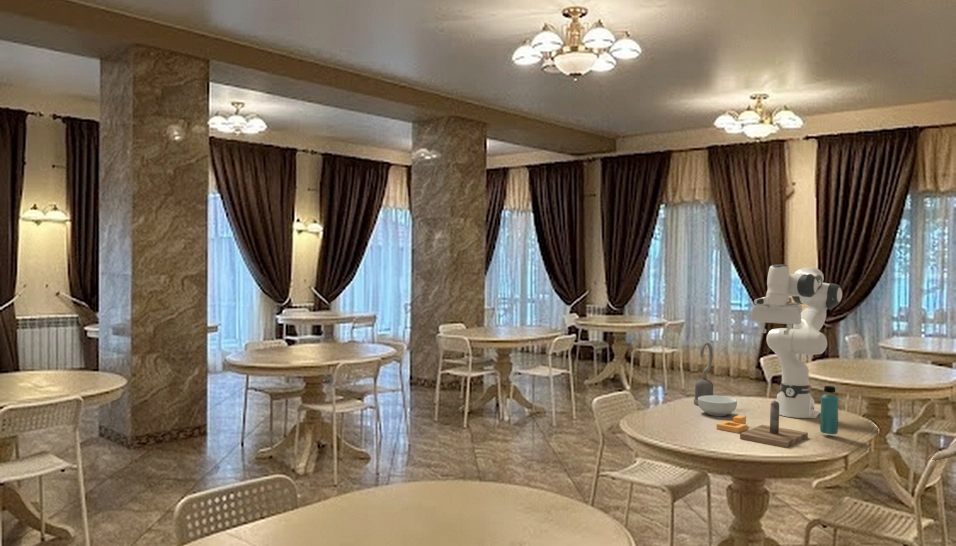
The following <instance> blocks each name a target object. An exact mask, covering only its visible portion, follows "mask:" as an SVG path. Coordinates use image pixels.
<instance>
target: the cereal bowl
mask: <svg viewBox="0 0 956 546" xmlns="http://www.w3.org/2000/svg"><path fill="white" fill-rule="evenodd" d="M737 401H738V400H737V399H736V398H734V397H730V396H724V395H723V396H722V395H713V396H700V397H698V405H697V406H698V407H699V408H700V409H701V410H702V411H703V412H705V413H706V414H708V415H710V416H713V415H714V416H715V417H725V415H726V416H727V415H728V414H732V413H733V412H735V410H736V408H737V406H738V405H737Z"/></svg>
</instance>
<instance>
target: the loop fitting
mask: <svg viewBox="0 0 956 546" xmlns="http://www.w3.org/2000/svg"><path fill="white" fill-rule="evenodd" d="M719 429H720V431H724V432H725V431H726V432H730V433H731V432H732V433H734V434H735V433H737V434H738V433H739V434H740V433H743V432H745V431H748V424H747V416H745V415H739V414H737V415H736V416H733V417H732V421H728V420H724V421H722V422H718V423H716V430H719Z"/></svg>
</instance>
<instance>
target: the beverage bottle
mask: <svg viewBox="0 0 956 546" xmlns="http://www.w3.org/2000/svg"><path fill="white" fill-rule="evenodd" d="M823 391H824V392H825V393H824V394H822V395H821V396H820V414H819V415H820V416H819V418H820V420H819V429H820V430H819V431H820V432H821V433H822V434H827V435H837V434H838V432H839V397H838V396H837V395H835V394H833V393H836V387H835V386H832V385H825V386H824V387H823Z"/></svg>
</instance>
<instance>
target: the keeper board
mask: <svg viewBox="0 0 956 546" xmlns="http://www.w3.org/2000/svg"><path fill="white" fill-rule="evenodd" d="M769 413H770V416H769V418H770V419H769V425H767V424H761V425H758V426H755V427H753V428H751V429H747V430H744V431H742V432H739V439H740V440H745V441H750V442H756V443H762V444H764V445H765V444H766V445H771V446H776V447H782V448H789V447H793V446H794V445H796V444H798V443H800V442H802V441H804V440H806V439H808V438H809V437H808V436H809V433H808V432H807V431H801V430H800V431H799V430H796V429H795V430H794V429H788V428H783V427H780V415H779V403H778V402H777V400H774V401H772V402H770V412H769ZM805 438H806V439H805ZM803 439H804V440H803ZM801 440H802V441H801ZM799 441H800V442H799ZM797 442H798V443H797ZM795 443H796V444H795Z"/></svg>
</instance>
